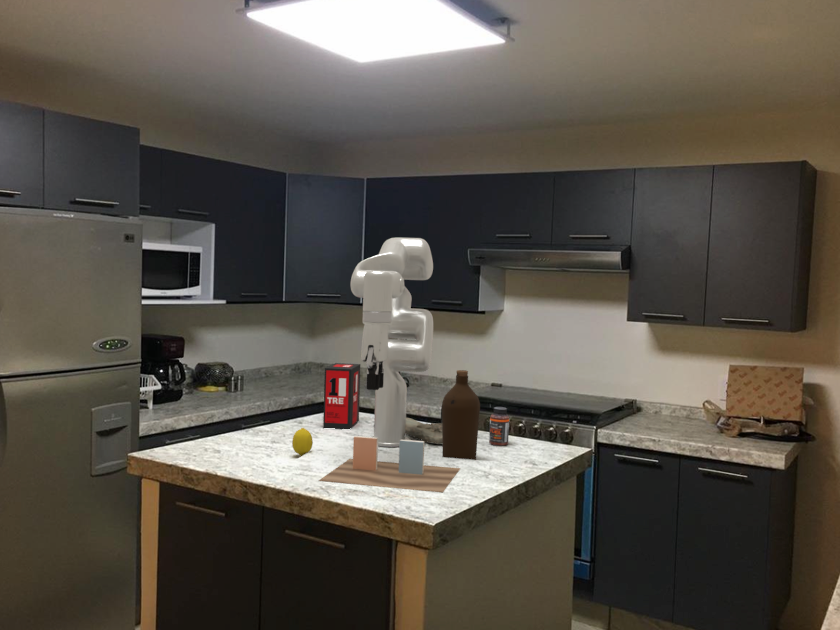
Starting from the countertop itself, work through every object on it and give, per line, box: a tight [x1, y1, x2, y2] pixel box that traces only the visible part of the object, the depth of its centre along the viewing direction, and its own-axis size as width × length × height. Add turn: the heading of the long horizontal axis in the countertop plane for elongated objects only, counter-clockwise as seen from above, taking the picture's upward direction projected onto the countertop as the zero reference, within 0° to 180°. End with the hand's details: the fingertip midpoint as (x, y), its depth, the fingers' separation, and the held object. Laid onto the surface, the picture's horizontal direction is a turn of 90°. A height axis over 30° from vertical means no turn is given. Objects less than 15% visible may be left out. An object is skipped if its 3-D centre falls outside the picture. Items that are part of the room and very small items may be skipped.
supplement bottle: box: [488, 406, 510, 447], centre depth 237 cm, size 6×6×11 cm
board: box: [318, 458, 461, 498], centre depth 190 cm, size 24×30×2 cm
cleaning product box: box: [322, 362, 361, 430], centre depth 261 cm, size 16×9×20 cm, turn 174°
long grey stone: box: [405, 417, 443, 445], centre depth 248 cm, size 35×5×10 cm
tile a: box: [352, 435, 379, 470], centre depth 194 cm, size 2×6×8 cm, turn 77°
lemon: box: [291, 427, 314, 457], centre depth 212 cm, size 6×6×8 cm
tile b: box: [398, 439, 425, 475], centre depth 192 cm, size 2×6×8 cm, turn 77°
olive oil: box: [441, 369, 481, 461], centre depth 214 cm, size 11×11×25 cm
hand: (375, 387), depth 201 cm, fingers open, 3 cm apart
